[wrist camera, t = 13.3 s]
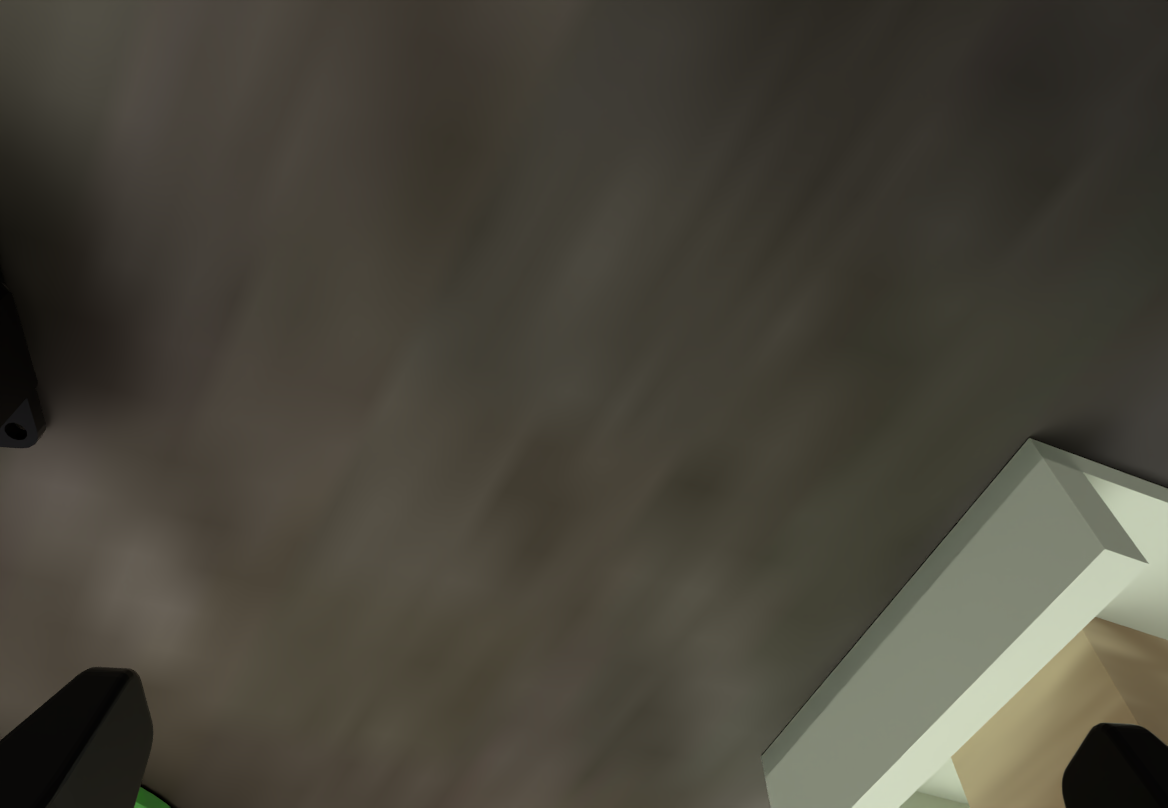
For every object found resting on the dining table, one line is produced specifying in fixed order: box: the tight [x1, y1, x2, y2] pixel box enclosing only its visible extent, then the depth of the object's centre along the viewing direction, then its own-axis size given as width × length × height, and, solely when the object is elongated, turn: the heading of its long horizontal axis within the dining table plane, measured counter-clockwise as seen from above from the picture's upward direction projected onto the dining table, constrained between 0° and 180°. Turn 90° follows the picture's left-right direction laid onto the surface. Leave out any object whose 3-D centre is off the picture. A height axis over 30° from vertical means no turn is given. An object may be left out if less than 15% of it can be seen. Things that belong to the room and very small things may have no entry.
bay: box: [761, 438, 1168, 808], centre depth 27 cm, size 14×14×4 cm
